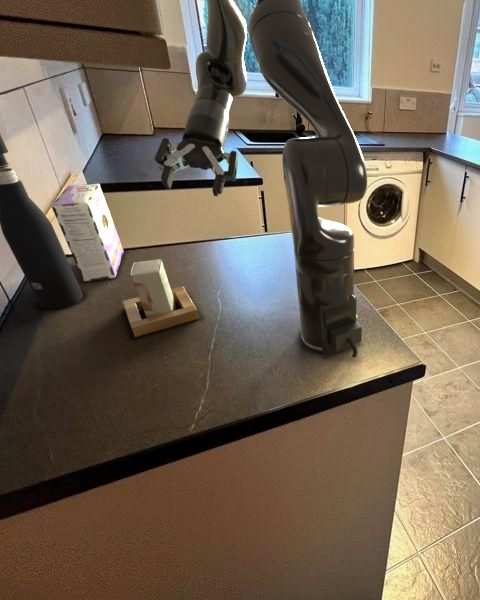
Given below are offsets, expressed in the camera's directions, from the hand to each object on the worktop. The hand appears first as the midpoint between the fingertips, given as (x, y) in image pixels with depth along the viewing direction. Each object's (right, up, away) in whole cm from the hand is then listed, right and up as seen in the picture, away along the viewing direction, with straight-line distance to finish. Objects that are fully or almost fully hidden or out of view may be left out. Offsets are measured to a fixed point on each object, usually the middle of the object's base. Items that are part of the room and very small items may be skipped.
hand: (191, 189), depth 73 cm
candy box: (-26, -14, +11) cm, 31 cm away
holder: (-4, -24, -3) cm, 24 cm away
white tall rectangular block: (-4, -24, -3) cm, 25 cm away
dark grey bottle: (-24, -22, -1) cm, 32 cm away
